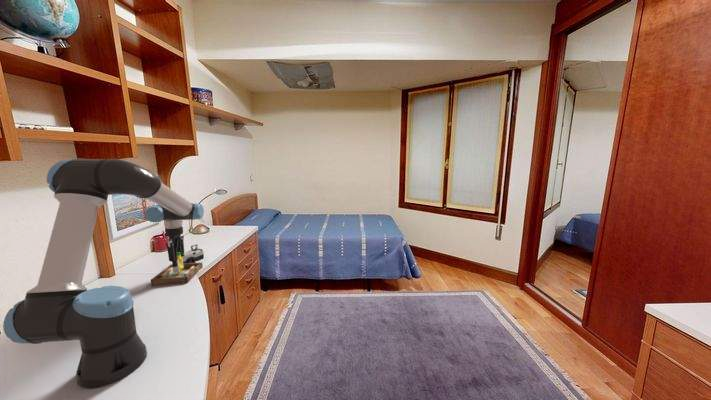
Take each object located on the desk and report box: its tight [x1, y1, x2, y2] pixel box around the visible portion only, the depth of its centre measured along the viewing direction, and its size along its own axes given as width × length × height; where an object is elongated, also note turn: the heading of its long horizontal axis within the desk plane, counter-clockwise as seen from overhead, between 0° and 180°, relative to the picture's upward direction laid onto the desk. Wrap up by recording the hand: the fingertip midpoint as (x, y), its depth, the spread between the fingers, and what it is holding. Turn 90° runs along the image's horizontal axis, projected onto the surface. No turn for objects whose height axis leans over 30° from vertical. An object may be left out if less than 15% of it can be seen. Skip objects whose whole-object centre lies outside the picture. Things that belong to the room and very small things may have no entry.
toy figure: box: [170, 252, 185, 275], centre depth 135 cm, size 7×4×12 cm, turn 109°
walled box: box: [150, 262, 204, 288], centre depth 135 cm, size 19×16×4 cm
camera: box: [182, 243, 205, 264], centre depth 153 cm, size 15×8×10 cm, turn 156°
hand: (178, 270), depth 135 cm, fingers closed on toy figure, 4 cm apart
